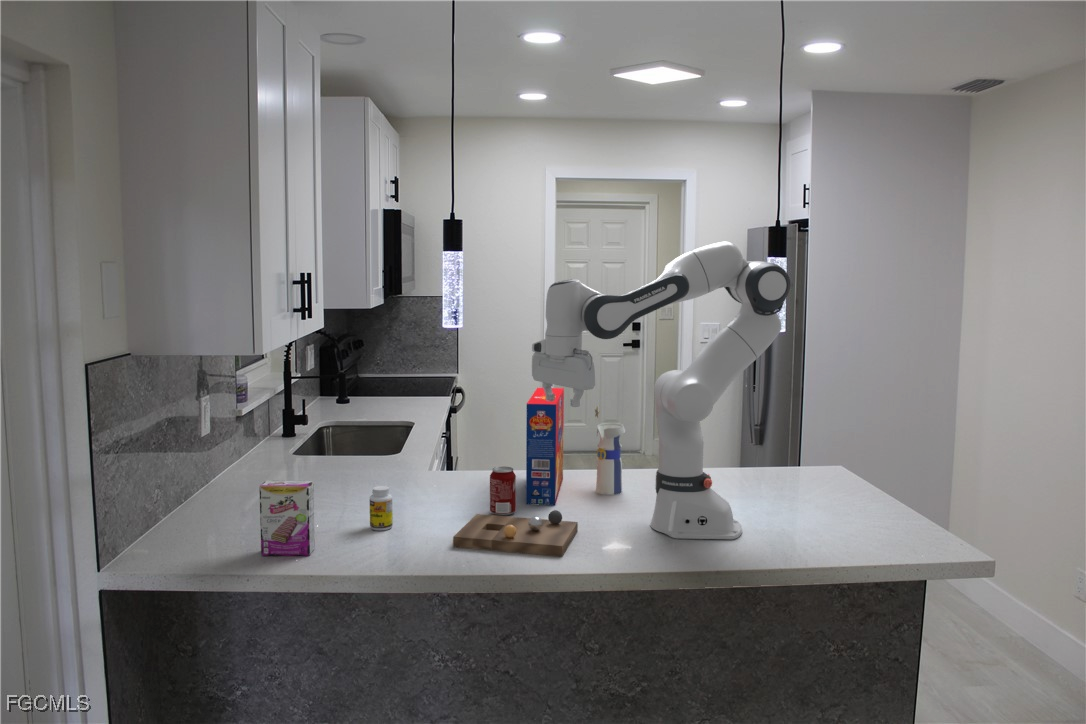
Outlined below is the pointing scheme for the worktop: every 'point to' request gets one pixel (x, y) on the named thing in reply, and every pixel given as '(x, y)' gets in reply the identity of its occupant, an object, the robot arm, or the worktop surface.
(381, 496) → the supplement bottle
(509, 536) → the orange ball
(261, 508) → the candy bar box
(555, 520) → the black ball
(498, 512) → the soda can
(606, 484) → the white tall bottle
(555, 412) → the pasta box
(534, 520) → the steel ball
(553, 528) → the board
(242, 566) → the worktop surface
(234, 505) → the worktop surface
